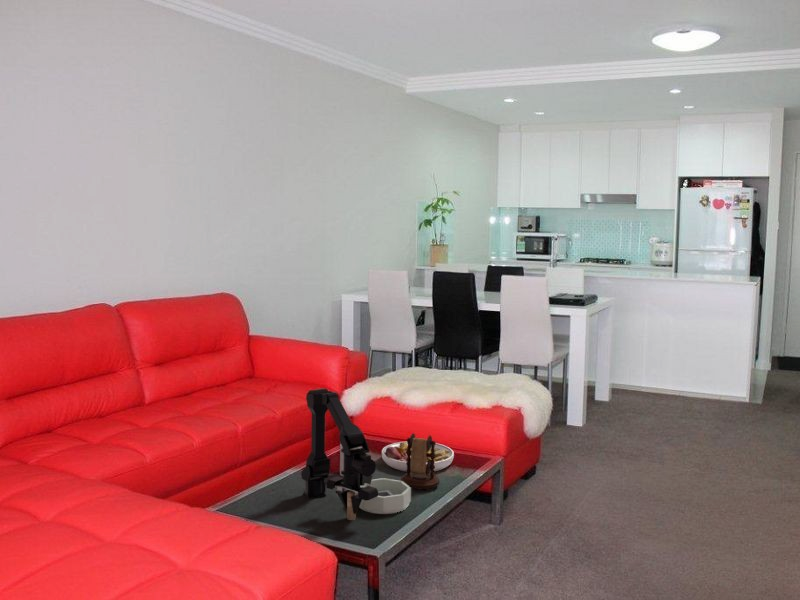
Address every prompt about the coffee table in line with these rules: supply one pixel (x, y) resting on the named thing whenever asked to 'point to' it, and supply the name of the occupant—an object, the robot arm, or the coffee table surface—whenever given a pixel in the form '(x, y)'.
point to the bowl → (398, 457)
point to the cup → (343, 459)
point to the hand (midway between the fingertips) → (351, 512)
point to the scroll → (420, 464)
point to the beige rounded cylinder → (350, 506)
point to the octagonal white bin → (387, 497)
